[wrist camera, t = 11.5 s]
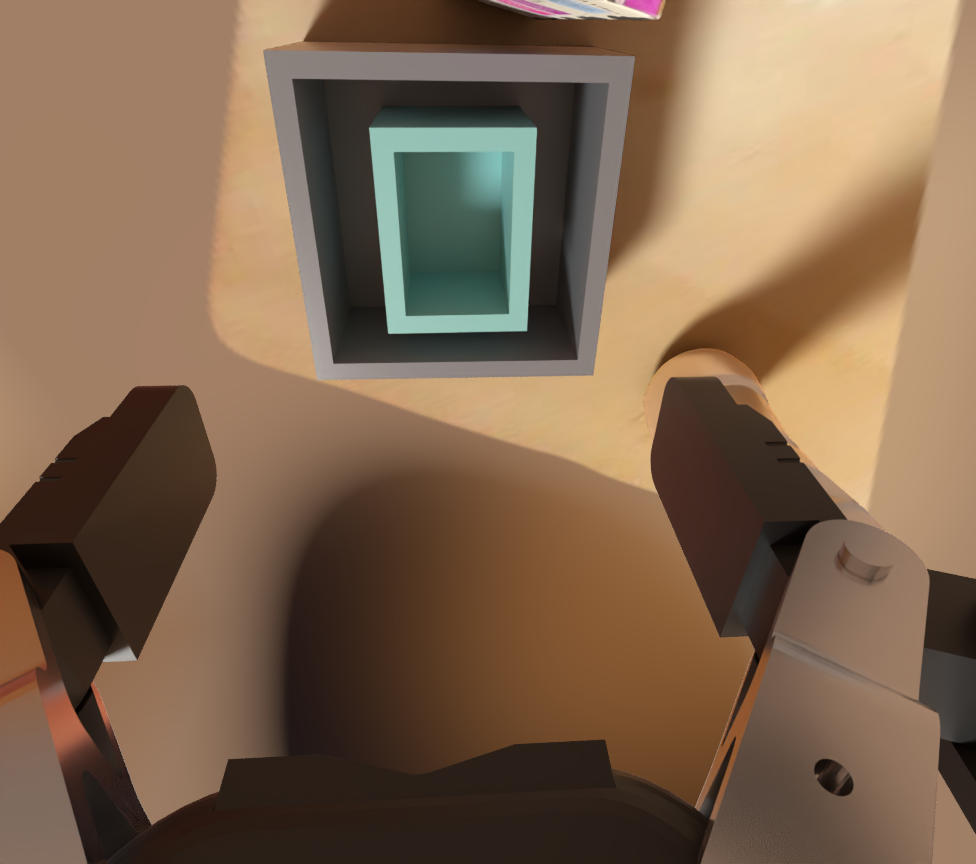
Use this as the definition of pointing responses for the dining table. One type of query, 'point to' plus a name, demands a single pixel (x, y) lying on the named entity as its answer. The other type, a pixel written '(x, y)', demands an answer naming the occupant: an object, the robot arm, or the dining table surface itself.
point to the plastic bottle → (743, 392)
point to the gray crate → (353, 213)
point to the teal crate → (454, 216)
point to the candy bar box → (584, 9)
